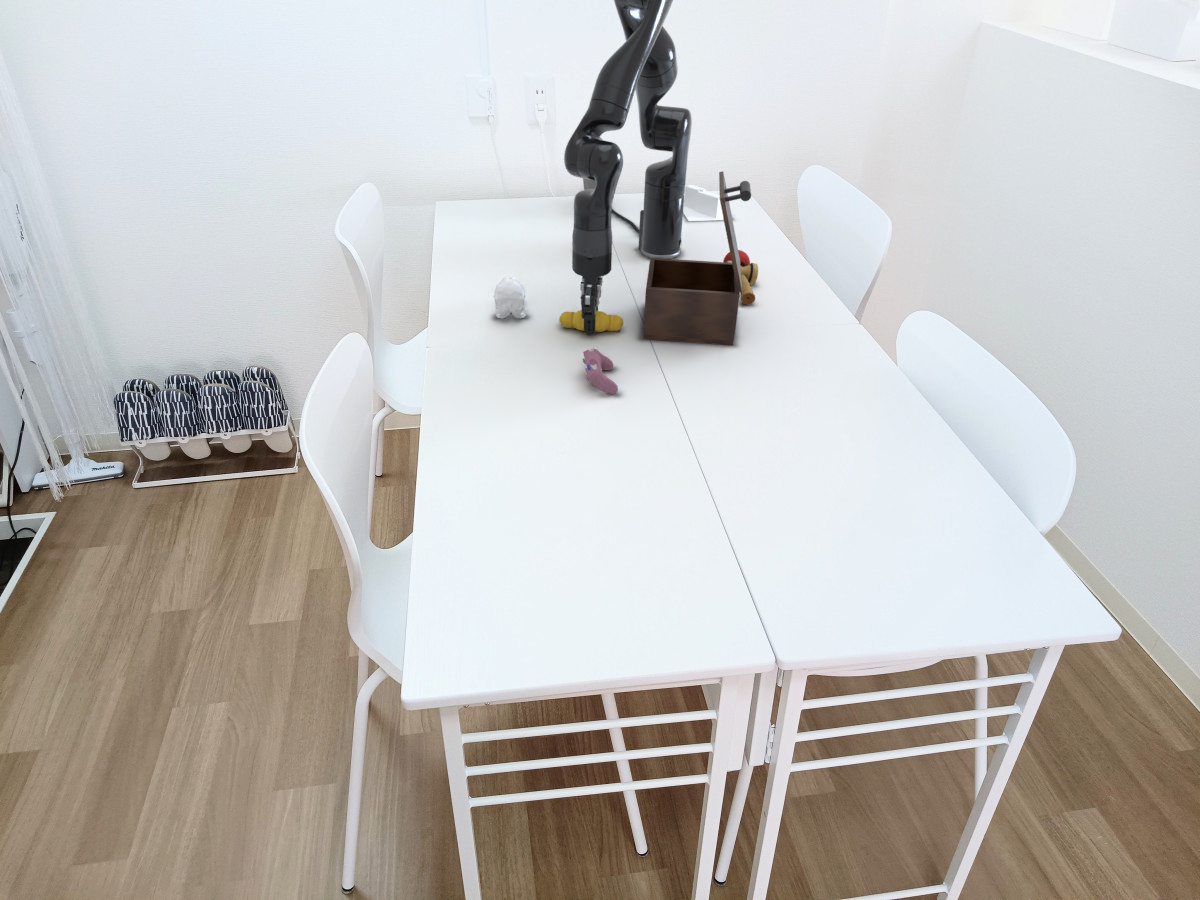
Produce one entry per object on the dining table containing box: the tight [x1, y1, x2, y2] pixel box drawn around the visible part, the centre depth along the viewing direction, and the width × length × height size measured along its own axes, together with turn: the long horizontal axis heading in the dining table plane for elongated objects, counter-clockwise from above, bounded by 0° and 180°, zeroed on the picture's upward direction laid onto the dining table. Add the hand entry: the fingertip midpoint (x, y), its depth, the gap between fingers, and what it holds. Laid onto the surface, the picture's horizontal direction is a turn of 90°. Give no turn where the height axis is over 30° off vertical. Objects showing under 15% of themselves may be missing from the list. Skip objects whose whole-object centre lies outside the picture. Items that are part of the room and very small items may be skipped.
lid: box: [718, 170, 752, 293], centre depth 164 cm, size 19×15×5 cm
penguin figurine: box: [493, 276, 527, 319], centre depth 178 cm, size 6×8×12 cm
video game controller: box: [582, 347, 619, 395], centre depth 156 cm, size 10×5×7 cm, turn 5°
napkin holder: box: [683, 184, 724, 222], centre depth 229 cm, size 15×11×6 cm
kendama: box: [722, 249, 759, 306], centre depth 191 cm, size 8×6×18 cm
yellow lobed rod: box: [559, 309, 624, 333], centre depth 173 cm, size 13×4×4 cm, turn 84°
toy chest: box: [642, 258, 741, 346], centre depth 174 cm, size 18×15×11 cm
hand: (590, 327), depth 174 cm, fingers closed on yellow lobed rod, 4 cm apart
